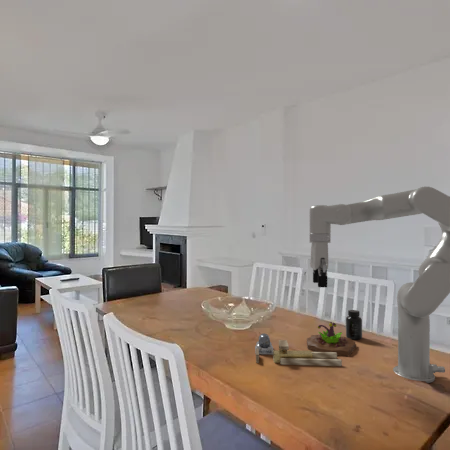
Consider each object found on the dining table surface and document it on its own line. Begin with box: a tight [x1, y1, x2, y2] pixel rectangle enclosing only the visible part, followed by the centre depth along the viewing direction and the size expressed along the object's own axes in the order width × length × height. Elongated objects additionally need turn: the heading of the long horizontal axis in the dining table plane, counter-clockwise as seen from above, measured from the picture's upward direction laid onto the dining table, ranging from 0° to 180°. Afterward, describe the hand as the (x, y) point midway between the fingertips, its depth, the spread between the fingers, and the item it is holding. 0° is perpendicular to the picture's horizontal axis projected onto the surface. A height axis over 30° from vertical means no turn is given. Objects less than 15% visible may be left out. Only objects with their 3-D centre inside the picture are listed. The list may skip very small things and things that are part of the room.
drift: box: [272, 349, 314, 364], centre depth 131 cm, size 14×4×4 cm, turn 89°
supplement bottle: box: [345, 309, 363, 341], centre depth 158 cm, size 7×7×12 cm
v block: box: [254, 340, 274, 356], centre depth 142 cm, size 8×7×3 cm
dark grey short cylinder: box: [258, 333, 271, 348], centre depth 141 cm, size 5×4×4 cm
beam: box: [255, 339, 343, 367], centre depth 131 cm, size 30×8×6 cm, turn 86°
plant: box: [306, 321, 357, 357], centre depth 146 cm, size 20×20×11 cm
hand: (319, 284), depth 131 cm, fingers open, 9 cm apart
